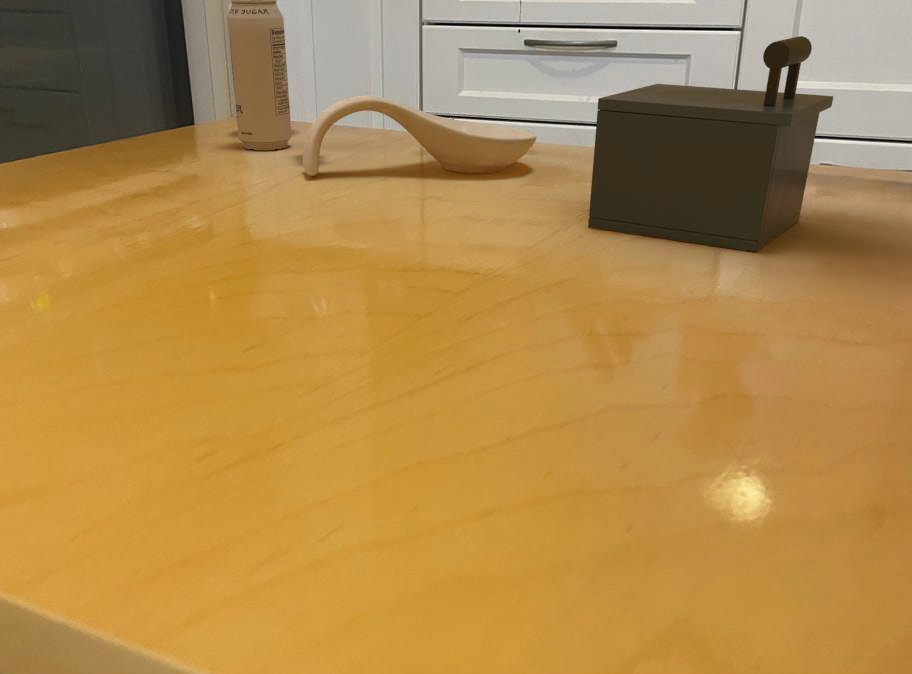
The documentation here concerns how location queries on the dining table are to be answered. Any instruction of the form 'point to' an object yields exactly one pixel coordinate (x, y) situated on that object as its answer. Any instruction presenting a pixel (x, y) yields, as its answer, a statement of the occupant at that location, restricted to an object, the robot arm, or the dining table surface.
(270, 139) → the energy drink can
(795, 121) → the lid
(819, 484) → the dining table surface
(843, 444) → the dining table surface
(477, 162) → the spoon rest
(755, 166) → the chest
